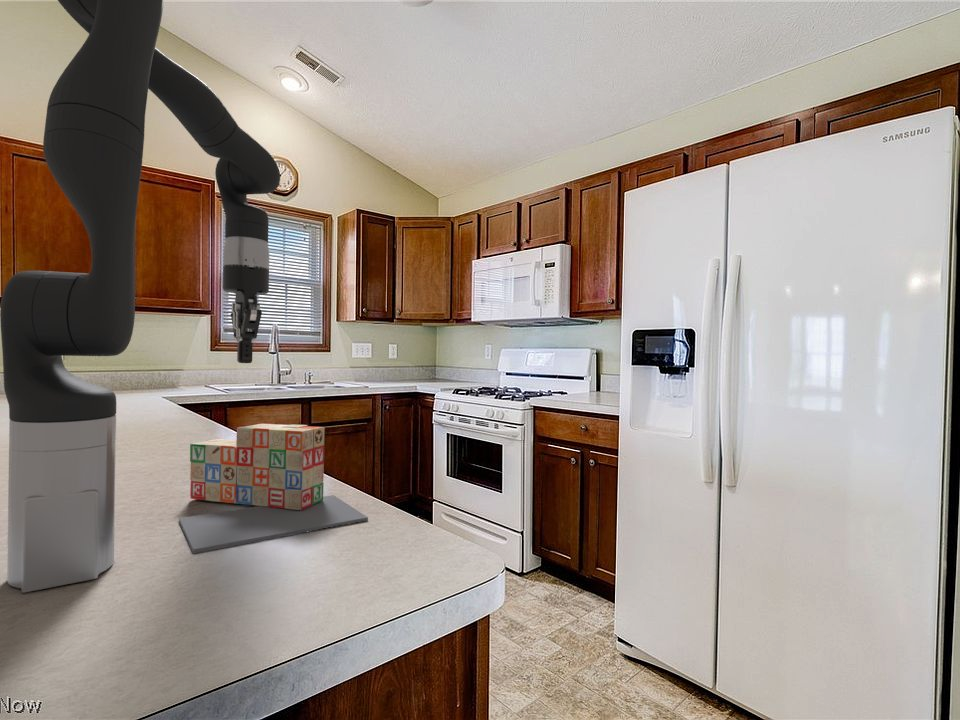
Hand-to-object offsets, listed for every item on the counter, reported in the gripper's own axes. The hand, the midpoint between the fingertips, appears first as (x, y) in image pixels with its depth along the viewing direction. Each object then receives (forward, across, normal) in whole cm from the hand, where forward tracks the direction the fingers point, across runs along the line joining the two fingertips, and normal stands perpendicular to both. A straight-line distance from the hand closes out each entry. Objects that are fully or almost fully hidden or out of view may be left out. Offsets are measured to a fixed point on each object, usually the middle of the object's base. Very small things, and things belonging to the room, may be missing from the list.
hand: (244, 362), depth 92 cm
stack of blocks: (+22, +10, 0) cm, 25 cm away
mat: (+23, +21, 0) cm, 31 cm away
